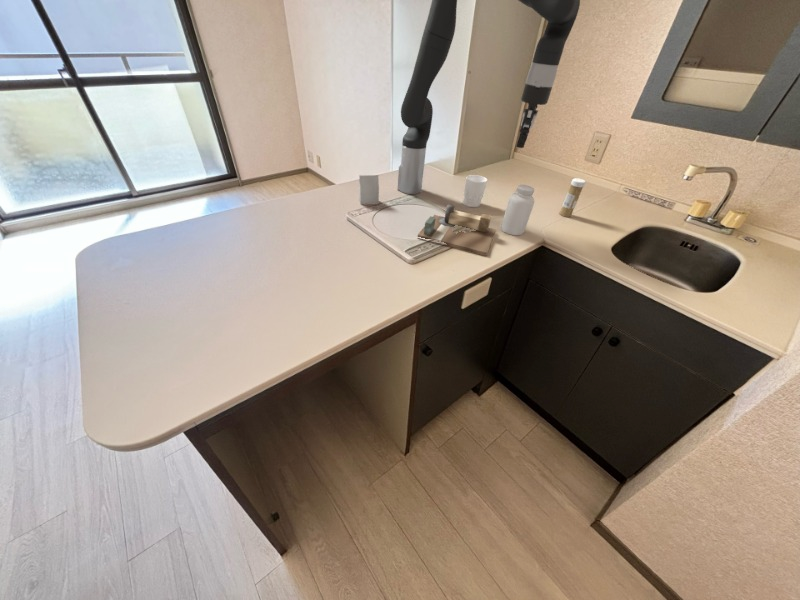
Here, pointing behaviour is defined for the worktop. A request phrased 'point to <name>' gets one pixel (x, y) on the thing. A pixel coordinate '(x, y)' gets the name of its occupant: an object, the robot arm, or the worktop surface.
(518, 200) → the pill bottle
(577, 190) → the sprinkles bottle
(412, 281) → the worktop surface
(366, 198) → the grey upright block
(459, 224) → the stool leg
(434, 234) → the board
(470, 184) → the white cup
